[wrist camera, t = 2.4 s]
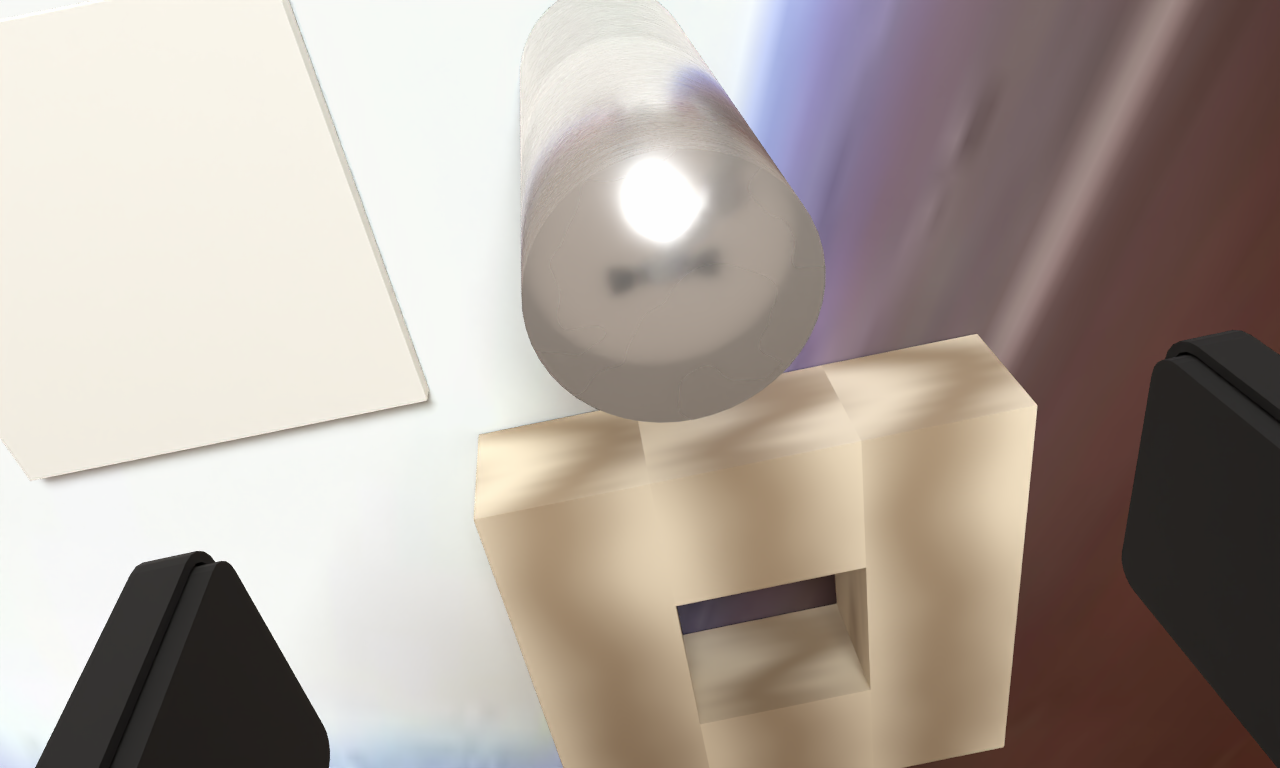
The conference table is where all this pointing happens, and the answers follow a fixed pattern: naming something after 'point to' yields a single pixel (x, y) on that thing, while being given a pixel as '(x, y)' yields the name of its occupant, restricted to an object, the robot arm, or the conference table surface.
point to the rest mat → (179, 238)
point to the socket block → (773, 567)
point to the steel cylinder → (653, 222)
